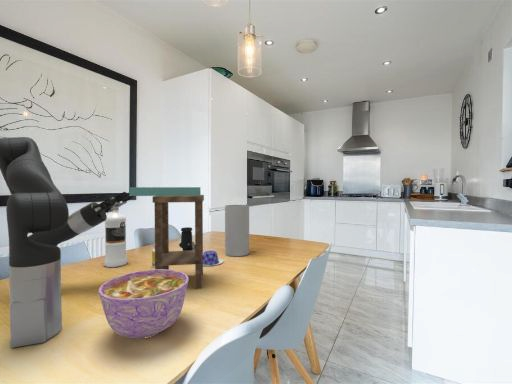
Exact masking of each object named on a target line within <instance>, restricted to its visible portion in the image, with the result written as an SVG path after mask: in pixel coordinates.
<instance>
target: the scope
mask: <svg viewBox="0 0 512 384" xmlns="http://www.w3.org/2000/svg"><path fill="white" fill-rule="evenodd" d="M180 231H181V234H180V235H181V237H180V238H181V239H180V243H179V244H178V246H179V248H181V249H182V251H191V250H195V241H193V232H192V231H193V228H192V227H190V226H189V227H187V226H186V227H181V228H180Z"/></svg>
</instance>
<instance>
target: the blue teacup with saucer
mask: <svg viewBox="0 0 512 384" xmlns="http://www.w3.org/2000/svg"><path fill="white" fill-rule="evenodd" d="M223 263H224V260H223V259H222V258H219V257H218V253H217V252H216V250H206V251H203V267H205V266H206V267H207V266H208V267H209V266H217V265H220V264H223Z"/></svg>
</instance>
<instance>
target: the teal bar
mask: <svg viewBox="0 0 512 384" xmlns="http://www.w3.org/2000/svg"><path fill="white" fill-rule="evenodd" d="M128 193H129V196H135V197H153V196H200V195H202V194H201V186H200V187H199V186H196V187H192V186H191V187H189V186H185V187H183V186H182V187H180V186H179V187H177V186H175V187H172V186H171V187H169V186H167V187H165V186H164V187H163V186H161V187H160V186H159V187H156V186H154V187H151V186H150V187H148V186H147V187H145V186H143V187H142V186H141V187H140V186H139V187H138V186H137V187H134V186H133V187H132V186H131V187H128Z"/></svg>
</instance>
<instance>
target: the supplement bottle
mask: <svg viewBox="0 0 512 384" xmlns="http://www.w3.org/2000/svg"><path fill="white" fill-rule="evenodd" d="M153 247H154V248H153V249H152V250H151V252H152V253H151V254H152V255H151V267H153V268H155V243H153Z"/></svg>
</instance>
